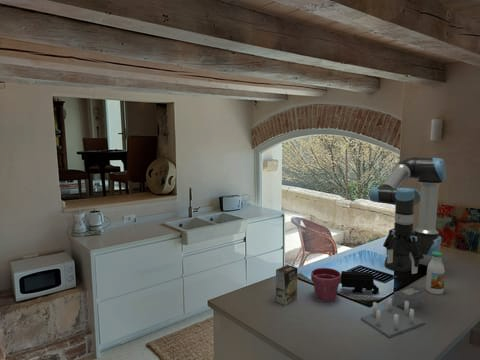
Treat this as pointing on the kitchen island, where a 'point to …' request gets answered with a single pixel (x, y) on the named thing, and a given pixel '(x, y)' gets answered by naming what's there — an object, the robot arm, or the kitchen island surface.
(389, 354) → the kitchen island surface
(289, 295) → the coffee box
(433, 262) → the milk bottle
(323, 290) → the plant pot
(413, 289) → the grey block
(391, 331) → the tray
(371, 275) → the security camera
